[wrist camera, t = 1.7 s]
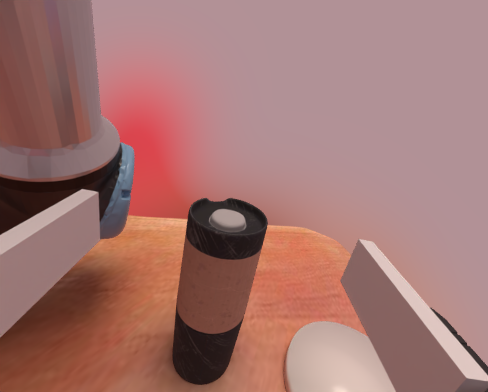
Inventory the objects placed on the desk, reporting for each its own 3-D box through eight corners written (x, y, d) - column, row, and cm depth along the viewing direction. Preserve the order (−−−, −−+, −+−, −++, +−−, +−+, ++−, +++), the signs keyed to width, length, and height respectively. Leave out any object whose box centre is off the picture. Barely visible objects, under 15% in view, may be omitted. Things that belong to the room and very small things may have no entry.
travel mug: (214, 401, 26) (253, 247, 18) (156, 366, 28) (169, 214, 20) (241, 342, 33) (277, 212, 25) (192, 317, 35) (213, 189, 27)
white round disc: (258, 360, 31) (261, 350, 30) (333, 315, 40) (337, 307, 39) (376, 542, 19) (387, 533, 19) (443, 421, 29) (452, 411, 28)
